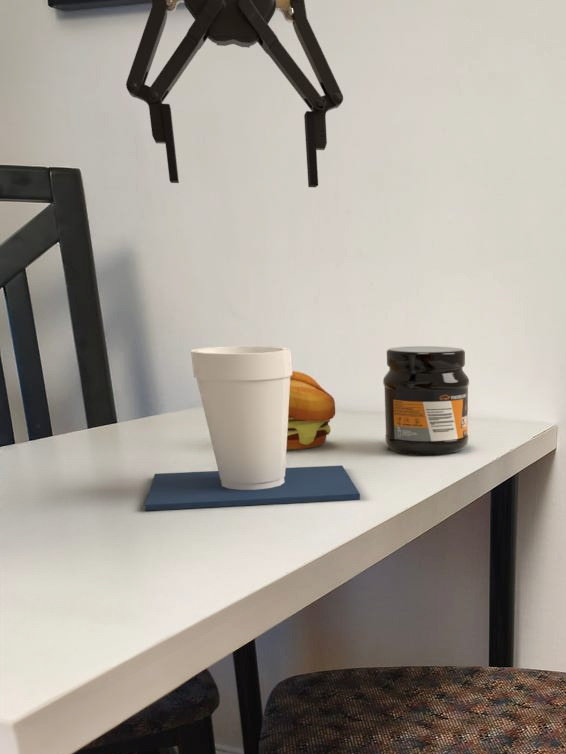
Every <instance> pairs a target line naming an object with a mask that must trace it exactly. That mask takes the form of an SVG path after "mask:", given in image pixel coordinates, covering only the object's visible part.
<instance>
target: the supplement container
mask: <svg viewBox="0 0 566 754" xmlns="http://www.w3.org/2000/svg"><path fill="white" fill-rule="evenodd" d="M386 366H387V367H389V369H388V371H387V373H386V374H385V375H384V376H383V379H382V383H383V384H382V385H383V386H384V414H385V416H384V417H385V418H384V419H385V435H384V436H385V438H384V439H385V444H386V445H387V446H388V447H389V449H391V450H392V451H394V452H397V453H400V454H407V455H416V456H418V455H419V456H435V455H438V456H439V455H448V454H454V453H457V452H460V451H462V450H464V449H465V448H466V446H467V445H468V442H469V433H468V432H469V414H468V413H469V385H470V379H469V377H468V375H467V374H466V373H465V371H464V369H463V368H464V367H465V366H466V351H465V350H464V349H463V348H460V347H453V346H452V347H451V346H435V345H434V346H433V345H431V346H430V345H429V346H427V345H426V346H425V345H423V346H422V345H416V346H415V345H414V346H411V345H410V346H397V347H390V348H388V349H386Z"/></svg>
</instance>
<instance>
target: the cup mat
mask: <svg viewBox="0 0 566 754" xmlns="http://www.w3.org/2000/svg"><path fill="white" fill-rule="evenodd" d="M153 475H154V476H153V478H152V481H151V484H150V487H149V491H148V494H147V497H146V500H145V503H144V510H145V511H146V512H150V511H167V510H168V511H169V510H186V509H187V510H188V509H189V510H190V509H204V508H205V509H206V508H223V507H226V508H227V507H245V506H260V505H261V506H262V505H263V506H264V505H279V504H281V505H282V504H300V503H317V502H318V503H319V502H335V501H355V500H356V501H357V500H360V499H361V493H360V492H359V489H358V488H357V487H356V485H355V484H354V482H353V480H352V479H351V477H350V476H349V473H348V472H347V471H346V468H345V467H344V466H343V465H341V464H340V465H321V466H319V465H318V466H299V467H297V466H295V467H285V477H284V482H285V483H283V484H281V485H280V486H276V487H272V488H267V489H258V490H238V489H229V488H226V487H223V486H222V483H221V480H220V475H219V471H218V470H209V471H190V472H189V471H185V472H165V473H154V474H153Z"/></svg>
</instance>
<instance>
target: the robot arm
mask: <svg viewBox="0 0 566 754" xmlns="http://www.w3.org/2000/svg"><path fill="white" fill-rule="evenodd" d="M181 3H182V4H184V6H185V8H186V9H187V11H188V12H189V14H190V15H191V16H192V17H193V19H194V21H193V22H192V24H191V25H190V27H189V29H187V32H186V34H185V36H184V37H183V39H182V40H181V42H179V44H178V46H177V47H176V49H175V50H174V51H173V53H172V55H171V56H170V58H169V59H168V60H167V62H166V64H165V65H164V66H163V68H162V69H161V71H160V72H159V74H158V75H157V76H156V78H155V80H154V81H153V82H152V84H151V85H150V86H149V85H147V84H146V82H147V79H148V76H149V73H150V70H151V68H152V65H153V62H154V58H155V56H156V52H157V49H158V47H159V44H160V42H161V38H162V36H163V33H164V29H165V27H166V23H167V19H168V14H174V13H175V12H176V10H177V6H178V5H179V4H181ZM276 11H279V12H280V13H281V14H282V15H283V18H284V20H285V21H286V22H287V23H289V24H291V23H292V26H293V31H294V32H295V35H296V37H297V39H298V42H299V44H300V46H301V48H302V50H303V52H304V54H305V56H306V59H307V61H308V62H309V65H310V67H311V69H312V71H313V73H314V75H315V77H316V80H317V81H318V83H319V86H320V88H321V90H322V92H323V94H324V95H321V94H320V93H319V91H318V90H317V89H316V87H315V86H314V85H313V83H312V82H311V81H310V80H309V78H308V77H307V76H306V75H305V73H304V71H302V69H301V68H300V66H299V65H298V64H297V62H296V61H295V60H294V58H293V57H292V56H291V55H290V53H289V52H288V50H287V49H286V48H285V46H284V45H283V44H282V43H281V41H280V40H279V38H278V35H276V33H275V32H274V30H273V29H272V27H270V25H269V23H270V21H271V20H272V18H273V16H274V14H275V12H276ZM207 40H209V41H210V42H212V43H214V44H215V45H216V46H220V47H226V46H231V45H235V46H238V47H241V48H251V47H252V46H255V44H257V43H258V45H259V46H260V47H261V49H262V50H263V51H264V52H265V54H266V55H268V57H270V59H271V60H272V62H273V63H274V64H275V66H276V67H277V68H278V69H279V71H280V72H281V73H282V74H283V76H284V77H285V78H286V79H287V81H288V83H289V84H290V85H291V86H292V87H293V89H294V90H295V92H296V93H297V94H298V95H299V97H300V98H301V99H302V100H303V102H304V103H305V104H306V106H307V107H308V108H309V109H310V110H306V111H305V113H304V114H303V118H304V119H303V120H304V134H305V151H306V168H307V171H306V172H307V186H308V188H317V187H318V186H319V172H318V171H319V170H318V157H317V156H318V154H317V151H324V150H326V147H327V145H328V139H327V137H328V136H327V119H326V117H327V116H326V114H327V112H329V111H331V110H335V109H338V108H339V107H340V106H341V104H342V103H343V101H344V95H343V93H342V90H341V88H340V86H339V84H338V82H337V80H336V78H335V75H334V73H333V71H332V69H331V66H330V65H329V63H328V61H327V58H326V56H325V54H324V52H323V49H322V47H321V45H320V43H319V41H318V39H317V36H316V33H315V32H314V30H313V28H312V26H311V24H310V21H309V19H308V15H307V8H306V2H305V0H151V8H150V12H149V15H148V17H147V20H146V23H145V26H144V29H143V32H142V35H141V38H140V41H139V43H138V47H137V50H136V53H135V55H134V58H133V62H132V64H131V67H130V71H129V73H128V76H127V79H126V83H125V86H126V89H127V92H128V93H129V95H130V96H131V97H132V98H135V99H137V100H140V101H143V102H144V103H146V104H147V106H148V110H149V121H150V127H151V136H152V138H153V140H154V142H155V144H163V145H164V144H165V152H166V153H165V154H166V161H167V171H168V179H169V182H170V184H179V183H180V180H179V171H178V163H177V152H176V144H175V136H174V127H173V117H172V116H173V115H172V108H171V104H170V103H163V102H164V101H165V100H166V98H167V96H168V95H169V94H170V92H171V91H172V89H173V88H174V86H175V85H176V84H177V82H178V81H179V79H180V78H181V76H182V75H183V73H184V72H185V70H186V69H187V68H188V66H189V64H190V63H191V62H192V61H193V59H194V57H196V54H197V53H198V51H199V50H200V49H201V48H202V47H203V46H204V45H205V43H206V41H207Z"/></svg>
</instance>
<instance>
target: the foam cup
mask: <svg viewBox="0 0 566 754" xmlns="http://www.w3.org/2000/svg"><path fill="white" fill-rule="evenodd" d="M190 355H191V365H192V372H193V373H192V374H193V378H195V379H196V382H197V386H198V390H199V395H200V400H201V403H202V408H203V412H204V417H205V420H206V425H207V429H208V433H209V438H210V441H211V445H212V450H213V455H214V459H215V462H216V467H217V471H219V475H220V480H221V483H222V486H223V487H226V488H229V489H238V490H258V489H267V488H272V487H276V486H280V485H281V484H283V483H285V482H284V477H285V468H287V464H286V463H287V449H286V448H287V429H288V410H289V391H290V375H292V371H293V365H292V350H291V348H288V347H281V346H271V345H269V346H267V345H229V346H209V347H208V346H207V347H199V348H194V349H190Z"/></svg>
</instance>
